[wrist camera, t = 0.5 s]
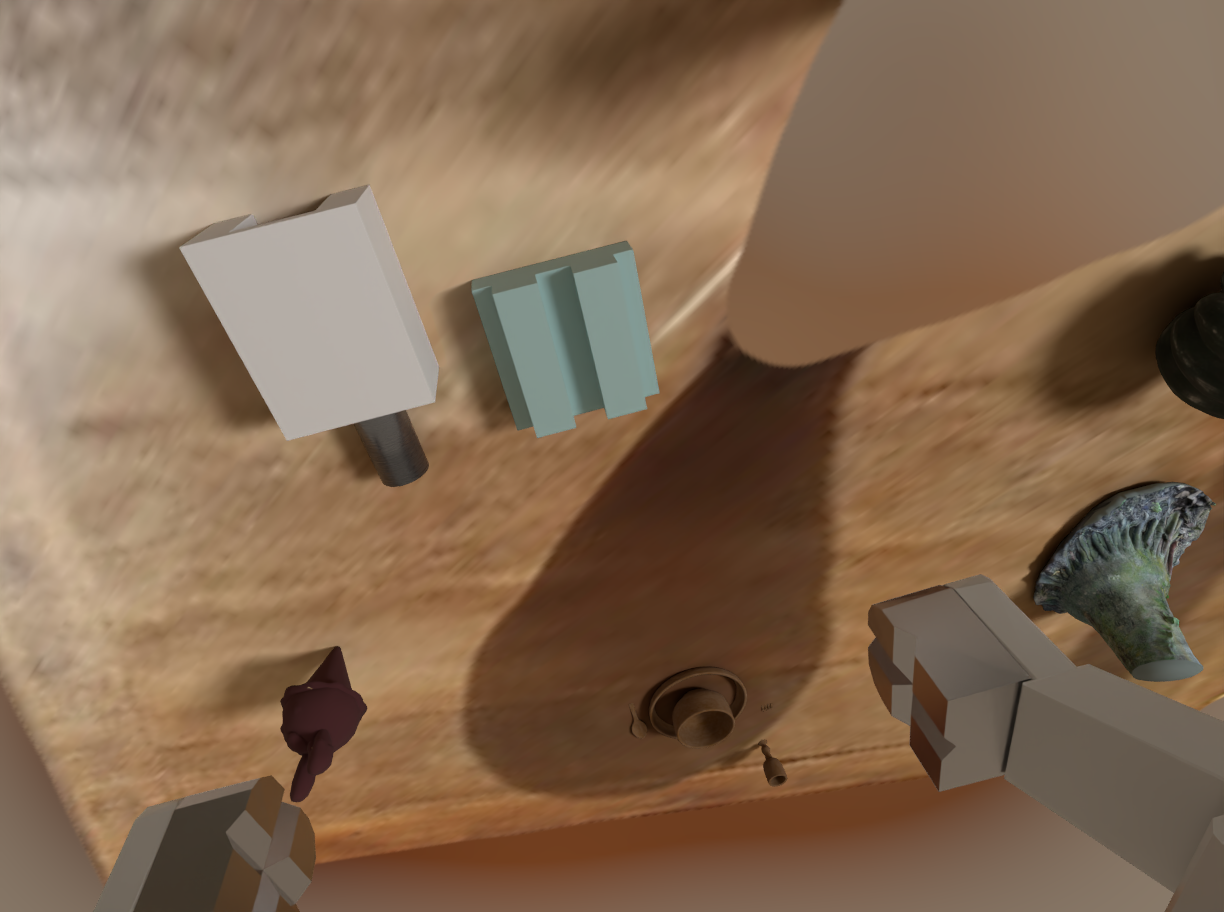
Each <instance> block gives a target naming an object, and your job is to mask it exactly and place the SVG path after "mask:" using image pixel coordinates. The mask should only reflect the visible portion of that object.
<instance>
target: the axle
mask: <svg viewBox="0 0 1224 912" xmlns="http://www.w3.org/2000/svg"><path fill="white" fill-rule="evenodd" d="M354 425H355V427H356V429H357V431H358V433H359V435H360V437H361V440H362V442H363V444H364V446H365V448H366V450H367V452H368V454H369V456H370V458H371V460H372V462H373V464H374V466H375V468H376V470H377V472H378V475H379V477H380V479H381V481H382V483H383V484H384V485H386V486H390V487H397V486H403V485H406V484H409V483H411V482H413V481H415V480H417V479H418V478H420V477H421V476H422V475H423V474H424V473H425V472H426V471H427V469H428V467H429V463H428V461H427V458H426V456H425V454H424V451H423V449H422V447H421V444H420V442H419V440H418V437H417V435H416V433H415V430H414V428H413V426H412V423H411V421H410V419H409V416H408V414H407V412H406V410H403V411H399V412H396V413H392V414H388V415H384V416H380V417H376V418H373V419H369V420H365V421H361V422H357V423H354Z"/></svg>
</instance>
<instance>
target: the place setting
mask: <svg viewBox="0 0 1224 912" xmlns="http://www.w3.org/2000/svg"><path fill="white" fill-rule="evenodd" d="M708 674H715V675H722V676H726V677H729V678H731V679H733V680H734V682H735V684H736V687H737V694H736V697H735V700H734V702H733V703H732V705H731V706H730V707H729V704H728V703H727V701H726V699H725V698H724V697H723V696H722V695H721V694H719V693H717V692H715V691H711V690H706V689H694V690H691V691H689V692H687V693H686V694H685V695H684V696H683V697H682V698H681V699H680V700H679V701H678V703H677V704H676V706H675V707H674V710H673V724H674V725H670V724H668V723H666V722H664V721H662V720H661V719H660V718H659V717H658V715H657V713H656V711H655V703H656V702H657V700H658V699H659V697H660V696H661V695H662V694H663V693H664V692H665V691H666V690H667V689H669V688H670V687H672V686H673V685H675V684H677V683H678V682H681V681H683V680H685V679H688V678H691V677H695V676H699V675H708ZM746 701H747V692H746V689H745V687H744V685H743V683H742V682H741V680H740V679H739V678H738V677H737V676H736V675H734V674H733V673H731V672H730V671H727V670H725V669H721V668H717V667H699V668H693V669H689V670H686V671H683V672H681V673H679V674H676V675H675V676H673V677H671V678H670V679H668V680H667V681H665V682H664V683H663V684H662V685H661V686H660V687H659V688H658V689H657V691H656V692H655V693H654V695H653V697H652V699H651V702H650V706H649V716H650V721H651V724H652V726H653V727H654V728H655V729H656V730H657V731H658V732H659V733H661V734H662V735H664V736H667V737H670V738H674V739H678V741H679V742H680V743H681V744H682V745H684V746H686V747H689V748H695V749H700V748H707V747H711V746H714V745H716V744H718V743H720V742H722V741H723V740H725V739H726V738H727V737H728V736H729V735H730V734H731V732H732V731H733V729H734V726H735V720H736V719H737V717H738V716H739V715H740V714H741V712H742V711H743V709H744V707H745V705H746ZM767 705H768V709H769V704H767ZM770 705H771V708H772V704H771V703H770ZM629 707H630V710H631V712H632V715H633V718H634V722H633V724H632V733H633V734H634V735H635V736H636V737H638V738H640V739H643V738H644V737H645V736H646V733H647V726H646V724H645V723H644V722H643V721H641V720H639V719H638V717H637V714H636V711H635V707H634V704H633V703H632V704H629ZM765 709H766V705H765ZM762 710H763V712H764V709H763V706H762ZM766 711H767V709H766ZM766 743H767V740H761V741H759V743H758V745H760V746H762V749H761V750H762V753H763V754H764V755H765V758H766V761H765V762H764V764H763V768H764V772H765V775H766V778H767V781H768V783H769V785H770V786H780V785H782V784H784V783H785V782H786V781H787V775H786V773H785V770H784V768H783V766H782V764H781V763H780V761H779V760H778V759H776V758H772V756H771V754H770V748H769V747H768V746H767V745H766Z"/></svg>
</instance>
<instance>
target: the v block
mask: <svg viewBox="0 0 1224 912" xmlns="http://www.w3.org/2000/svg"><path fill="white" fill-rule="evenodd" d="M472 294H473V297H474V300H475V303H476V306H477V309H478V312H479V315H480V318H481V321H482V324H483V327H484V330H485V333H486V336H487V339H488V342H489V345H490V348H491V351H492V354H493V357H494V360H495V364H496V367H497V370H498V373H499V376H500V379H501V382H502V385H503V388H504V391H505V394H506V397H507V400H508V403H509V406H510V409H511V412H512V415H513V418H514V421H515V424H516V427H517V430H521V429H525V428H529V427H533V426H534V429H535V432H536V436H537V438H539V437H543V436H547V435H550V434H554V433H558V432H562V431H566V430H569V429H573V428H576V424H575V420H574V415H578V414H582V413H586V412H590V411H593V410H597V409H601V408H604V409H605V412H606V415H607V418H608V419H611V418H615V417H619V416H622V415H626V414H630V413H634V412H637V411H641V410H645V409H647V407H646V402H645V397H646V396H650V395H654V394H658V393H659V388H658V382H657V377H656V372H655V366H654V361H653V355H652V350H651V345H650V339H649V334H648V328H647V323H646V317H645V312H644V307H643V301H642V296H641V290H640V285H639V279H638V274H637V269H636V263H635V258H634V252H633V249H632V247H631V246H630V245H629V243H628V242H627V241H624V242H620V243H616V244H612V245H608V246H604V247H600V248H596V249H592V250H588V251H584V252H581V253H577V254H573V255H569V256H565V257H561V258H557V259H553V260H549V261H545V262H541V263H537V264H534V265H530V266H526V267H522V268H518V269H514V270H510V271H506V272H502V273H498V274H494V275H491V276H487V277H483V278H479V279H475V280H472Z"/></svg>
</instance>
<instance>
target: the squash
mask: <svg viewBox="0 0 1224 912" xmlns="http://www.w3.org/2000/svg"><path fill="white" fill-rule="evenodd" d="M1221 289H1222V290H1221V291H1220V292H1219V293H1214V294H1210V295H1208V296H1206V297H1204V298H1202V299H1200V300H1199V301H1198V302H1197V304H1196V305H1195V307H1193V308H1190V309H1188V310H1186V311H1184V312H1182V313H1181V314H1179V315H1178V316H1176V317H1175V318H1174V320H1173V321H1172V322H1171V323H1170V324H1169V326H1168V327H1167V328H1166V329H1165V330H1164V331H1163V333H1162V334H1161V335H1160V337H1159V339H1158V341H1157V345H1156V351H1155V353H1156V360H1157V364H1158V367H1159V370H1160V372H1161V375H1162V376H1163V378H1164V380H1165V382H1166V383H1167V385H1168V386H1169V388H1170V389H1171V390H1172V392H1173V393H1174V394H1175V395H1176V396H1178V397H1179V398H1180V399H1181V400H1182V401H1184V402H1185V403H1187V404H1188V405H1190V406H1192V407H1194V408H1196V409H1198V410H1200V411H1202V412H1204V413H1206V414H1209V415H1211V416H1214V417H1217V418H1221V419H1224V272H1223V274H1222V276H1221Z"/></svg>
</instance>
